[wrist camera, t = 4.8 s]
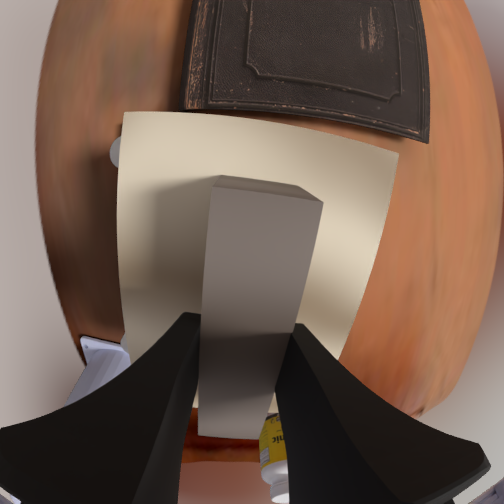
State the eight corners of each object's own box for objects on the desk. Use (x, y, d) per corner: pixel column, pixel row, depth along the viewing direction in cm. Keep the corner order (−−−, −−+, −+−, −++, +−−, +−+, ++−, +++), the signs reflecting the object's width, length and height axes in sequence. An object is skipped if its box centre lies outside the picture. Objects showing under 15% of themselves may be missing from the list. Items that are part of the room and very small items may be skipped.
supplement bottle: (316, 407, 24) (336, 486, 15) (296, 433, 26) (308, 503, 17) (266, 403, 24) (275, 490, 14) (251, 429, 25) (255, 505, 16)
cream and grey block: (308, 393, 15) (323, 453, 11) (144, 379, 14) (125, 439, 10) (380, 151, 10) (450, 160, 6) (138, 116, 9) (79, 101, 5)
